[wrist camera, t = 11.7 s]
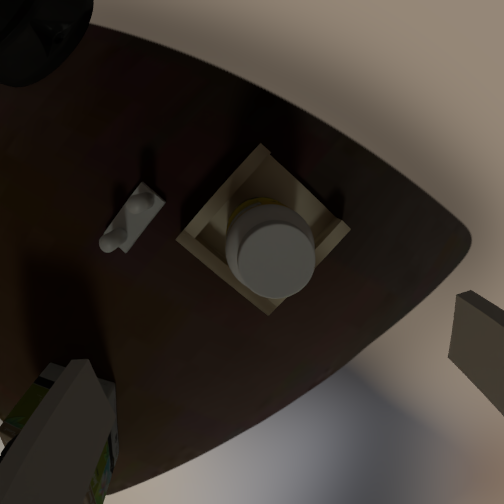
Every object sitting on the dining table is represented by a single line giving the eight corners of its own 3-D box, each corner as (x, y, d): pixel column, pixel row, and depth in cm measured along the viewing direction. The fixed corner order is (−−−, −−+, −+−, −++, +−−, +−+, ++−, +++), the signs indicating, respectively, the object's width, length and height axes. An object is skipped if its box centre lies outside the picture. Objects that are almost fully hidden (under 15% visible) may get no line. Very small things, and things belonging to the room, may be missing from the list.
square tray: (265, 304, 32) (268, 315, 29) (180, 233, 30) (175, 239, 27) (341, 224, 30) (350, 229, 28) (258, 145, 28) (260, 143, 25)
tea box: (122, 451, 37) (98, 527, 23) (63, 432, 36) (29, 498, 22) (118, 380, 34) (76, 469, 20) (49, 358, 33) (-8, 429, 19)
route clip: (106, 232, 29) (89, 241, 25) (143, 181, 28) (129, 183, 24) (127, 251, 30) (113, 263, 26) (166, 201, 29) (155, 206, 25)
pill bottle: (305, 235, 30) (346, 271, 19) (252, 274, 30) (265, 329, 20) (267, 181, 28) (290, 188, 18) (212, 222, 29) (203, 253, 18)
